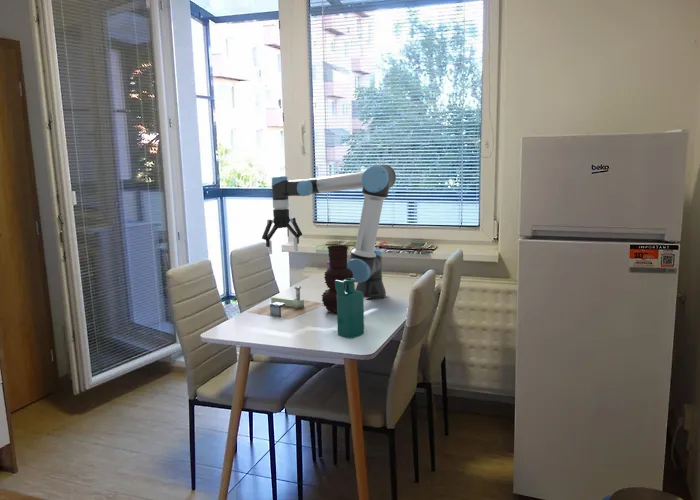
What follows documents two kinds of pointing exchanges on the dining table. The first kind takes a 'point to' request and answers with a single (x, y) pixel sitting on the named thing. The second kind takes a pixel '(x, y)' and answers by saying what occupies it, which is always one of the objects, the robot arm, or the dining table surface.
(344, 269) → the vase
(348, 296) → the green bottle
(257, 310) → the board
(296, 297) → the peg
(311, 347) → the dining table surface
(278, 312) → the block
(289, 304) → the link
